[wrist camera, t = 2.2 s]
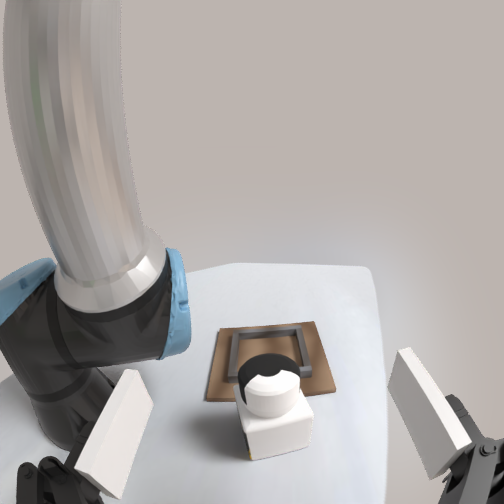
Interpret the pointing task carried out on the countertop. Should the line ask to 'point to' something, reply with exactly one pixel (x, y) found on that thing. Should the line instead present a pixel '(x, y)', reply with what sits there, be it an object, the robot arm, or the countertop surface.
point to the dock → (270, 341)
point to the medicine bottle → (272, 406)
